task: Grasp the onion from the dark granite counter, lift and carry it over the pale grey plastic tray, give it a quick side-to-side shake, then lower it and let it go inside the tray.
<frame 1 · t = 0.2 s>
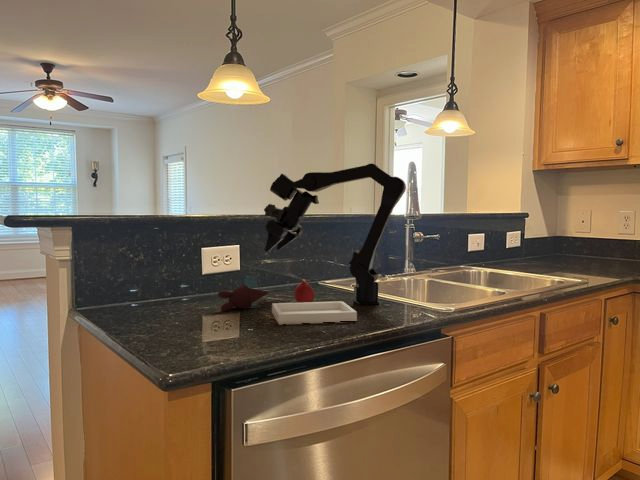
hand: (272, 250, 150), 15 cm above the worktop, tool tilted 30°, fingers open, 9 cm apart
tray: (312, 316, 125), on the worktop
onion: (303, 307, 136), on the worktop
dark red toy figure: (244, 309, 133), on the worktop
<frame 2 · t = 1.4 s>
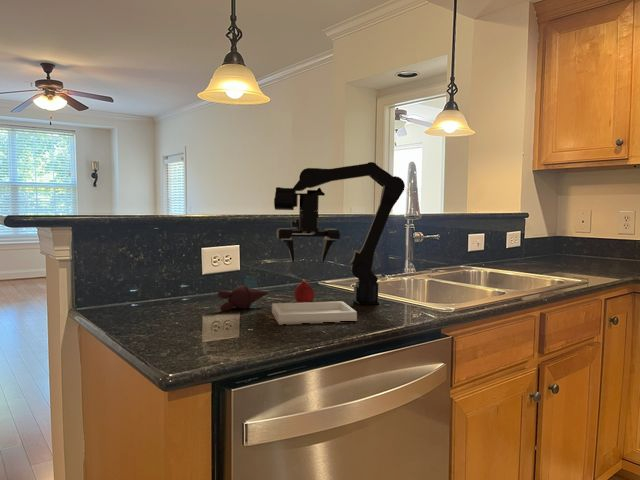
hand: (307, 262, 143), 12 cm above the worktop, tool pointing down, fingers open, 9 cm apart
nothing on the worktop moved.
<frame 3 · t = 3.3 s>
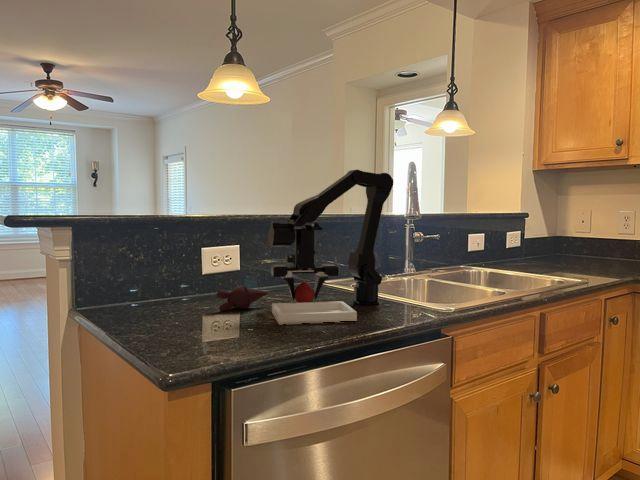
hand: (304, 299, 136), 2 cm above the worktop, tool pointing down, fingers closed on onion, 6 cm apart
onion: (303, 307, 136), on the worktop, touching gripper
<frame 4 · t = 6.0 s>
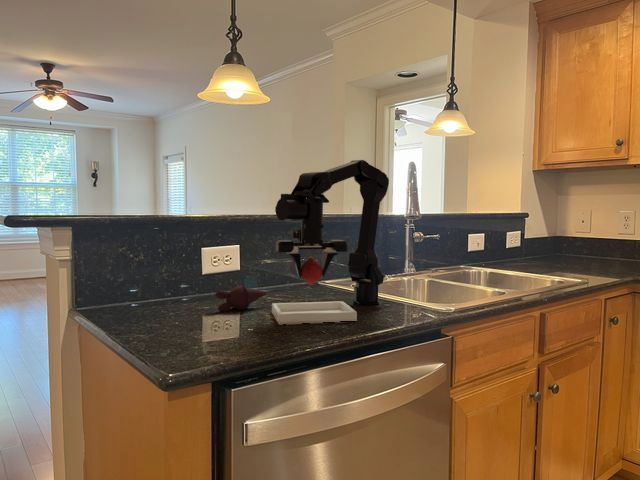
hand: (311, 277, 127), 10 cm above the worktop, tool pointing down, fingers closed on onion, 6 cm apart
onion: (311, 286, 127), point 8 cm above the worktop, touching gripper
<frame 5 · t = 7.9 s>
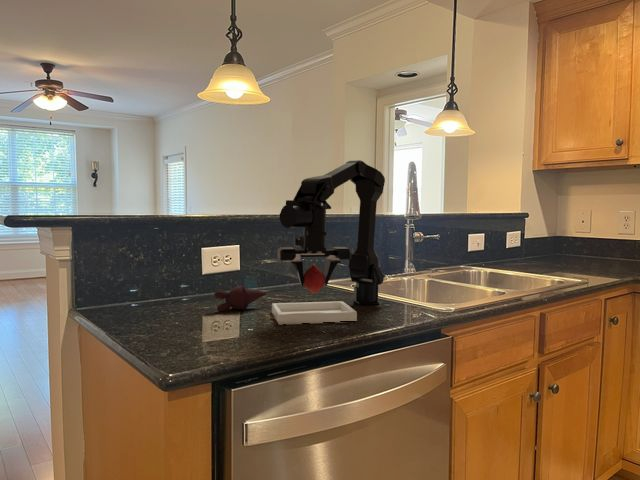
hand: (313, 286, 124), 8 cm above the worktop, tool pointing down, fingers closed on onion, 6 cm apart
onion: (313, 294, 124), point 6 cm above the worktop, touching gripper
when the fingers open (4 cm above the worktop, at t = 9.0 s): onion drops 1 cm, resting on tray.
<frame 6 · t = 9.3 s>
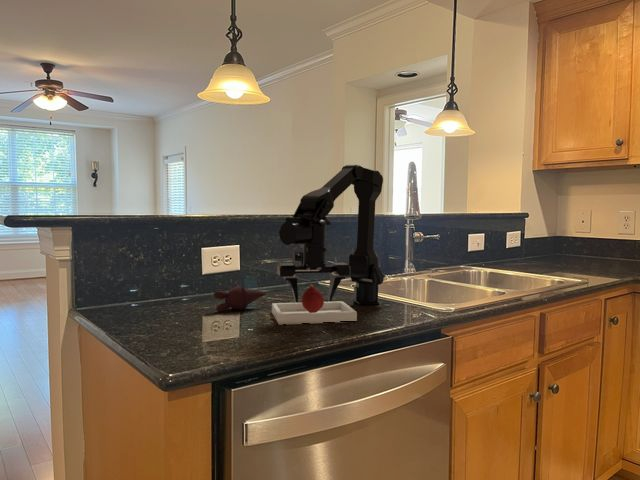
hand: (313, 301, 124), 4 cm above the worktop, tool pointing down, fingers open, 9 cm apart
onion: (313, 315, 125), resting on tray
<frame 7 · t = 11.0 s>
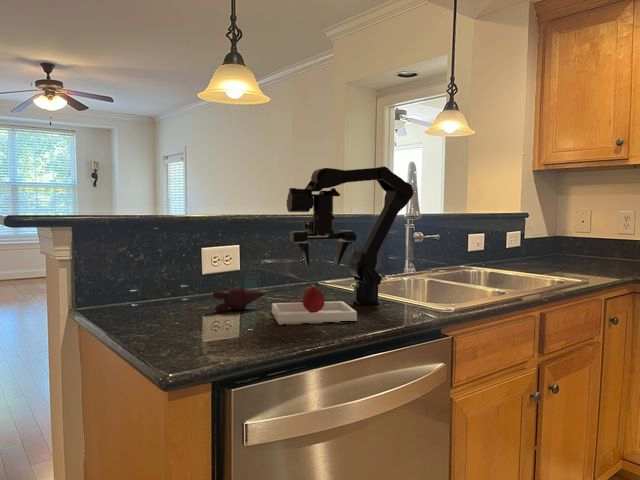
hand: (322, 265, 138), 12 cm above the worktop, tool pointing down, fingers open, 9 cm apart
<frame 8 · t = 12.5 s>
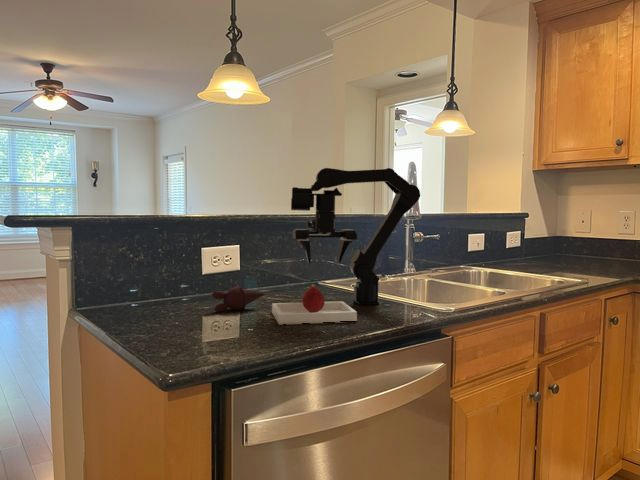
hand: (324, 263, 142), 12 cm above the worktop, tool pointing down, fingers open, 9 cm apart
at the end: onion inside the target area on the tray (0.1 cm from its centre), point 0.4 cm above the tray's base; the gripper is holding nothing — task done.
